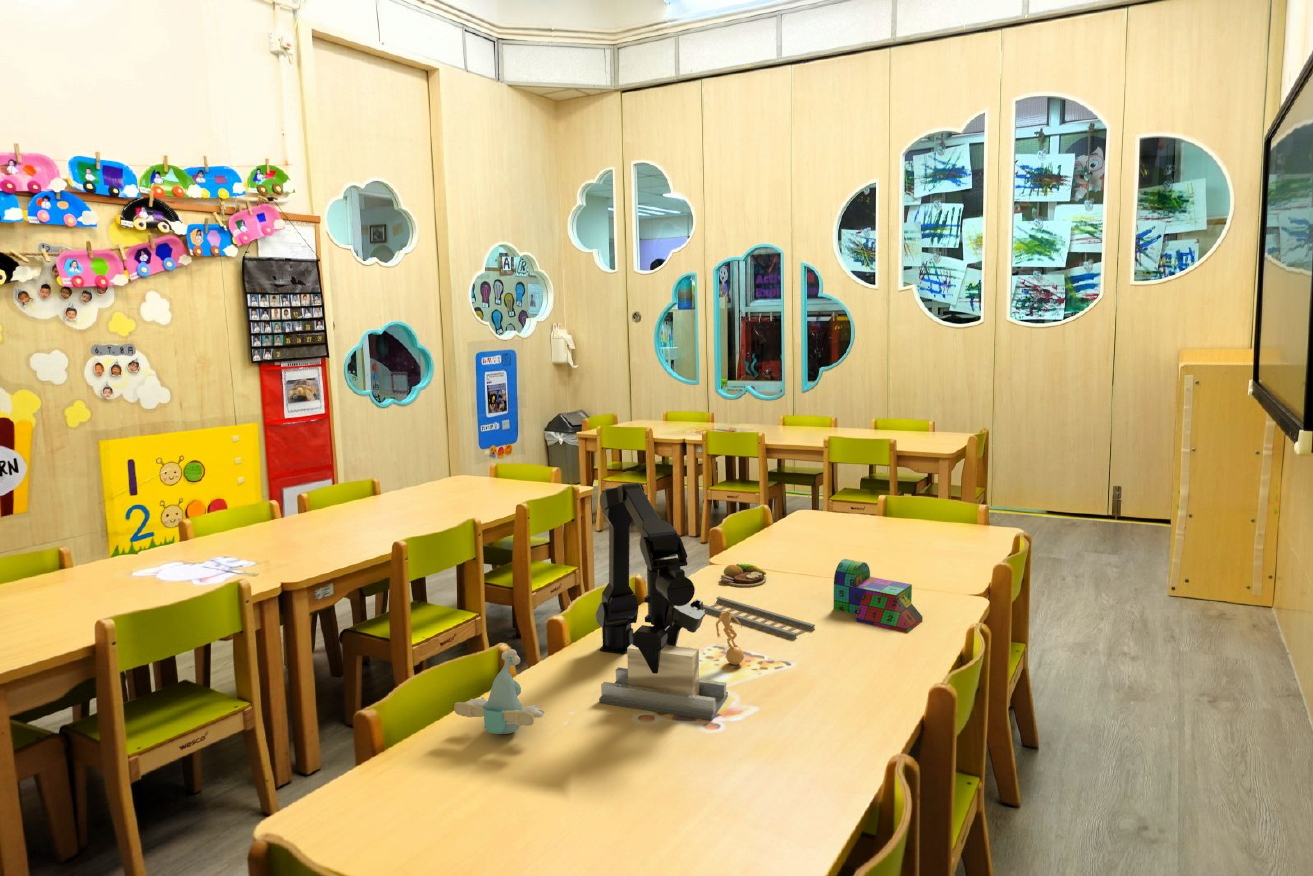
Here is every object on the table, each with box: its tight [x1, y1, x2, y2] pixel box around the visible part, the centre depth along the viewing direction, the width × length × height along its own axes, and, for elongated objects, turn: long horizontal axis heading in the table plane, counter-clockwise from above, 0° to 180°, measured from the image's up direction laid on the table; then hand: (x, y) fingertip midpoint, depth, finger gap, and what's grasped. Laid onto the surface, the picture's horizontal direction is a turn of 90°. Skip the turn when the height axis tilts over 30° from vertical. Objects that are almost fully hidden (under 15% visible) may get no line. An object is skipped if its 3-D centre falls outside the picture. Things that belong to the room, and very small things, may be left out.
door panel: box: [626, 644, 700, 696], centre depth 176 cm, size 4×14×10 cm, turn 69°
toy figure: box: [453, 648, 545, 735], centre depth 164 cm, size 17×10×15 cm, turn 71°
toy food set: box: [720, 563, 767, 588], centre depth 252 cm, size 20×14×4 cm
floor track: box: [598, 667, 729, 721], centre depth 177 cm, size 24×11×4 cm, turn 69°
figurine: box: [715, 610, 745, 666], centre depth 193 cm, size 8×6×12 cm
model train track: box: [703, 596, 816, 641], centre depth 221 cm, size 11×31×2 cm, turn 45°
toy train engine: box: [833, 558, 924, 633], centre depth 221 cm, size 22×15×12 cm
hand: (663, 664), depth 176 cm, fingers open, 9 cm apart
